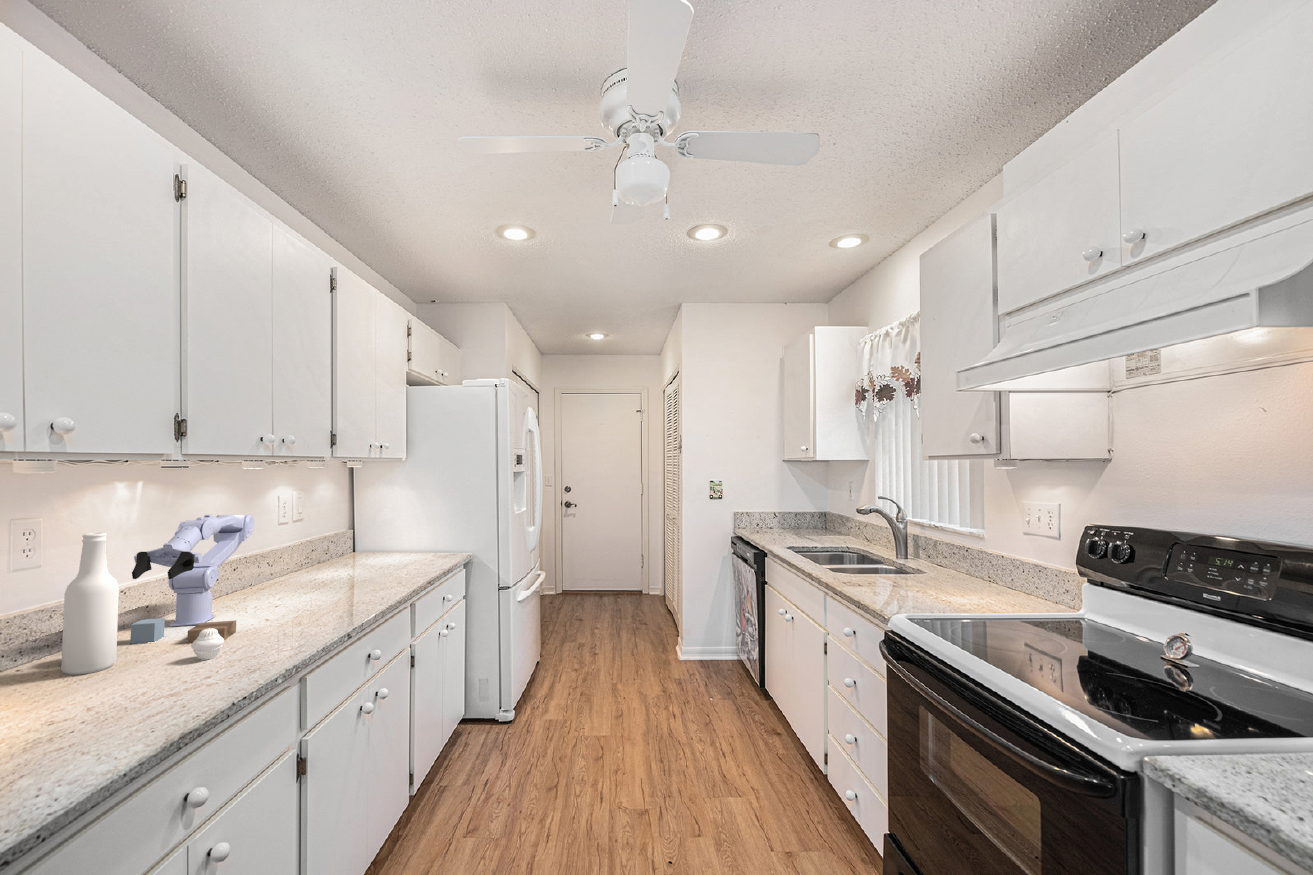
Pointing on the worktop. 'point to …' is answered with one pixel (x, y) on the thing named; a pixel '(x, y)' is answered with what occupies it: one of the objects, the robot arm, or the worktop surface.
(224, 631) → the walnut base
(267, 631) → the worktop surface
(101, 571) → the white bottle
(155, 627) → the blue cube
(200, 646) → the muffin
